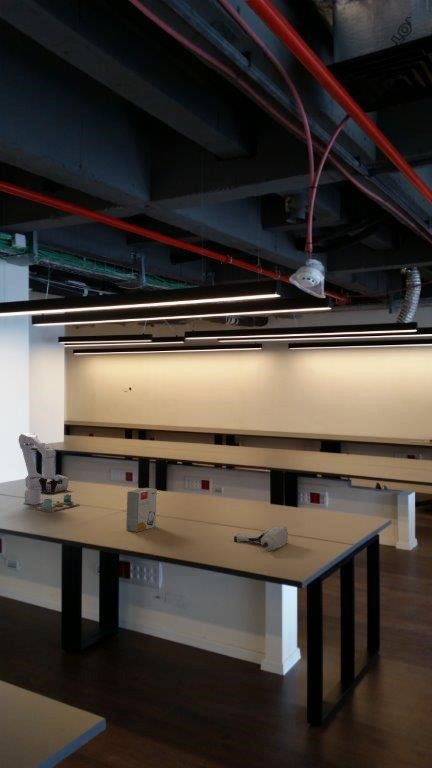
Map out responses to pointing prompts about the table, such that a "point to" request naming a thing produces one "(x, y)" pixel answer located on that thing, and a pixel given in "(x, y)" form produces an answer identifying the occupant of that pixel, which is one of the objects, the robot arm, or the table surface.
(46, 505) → the gear
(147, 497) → the hard drive box
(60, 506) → the gear carrier
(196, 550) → the table surface
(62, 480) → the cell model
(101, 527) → the table surface
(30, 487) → the robot arm
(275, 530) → the impact wrench
